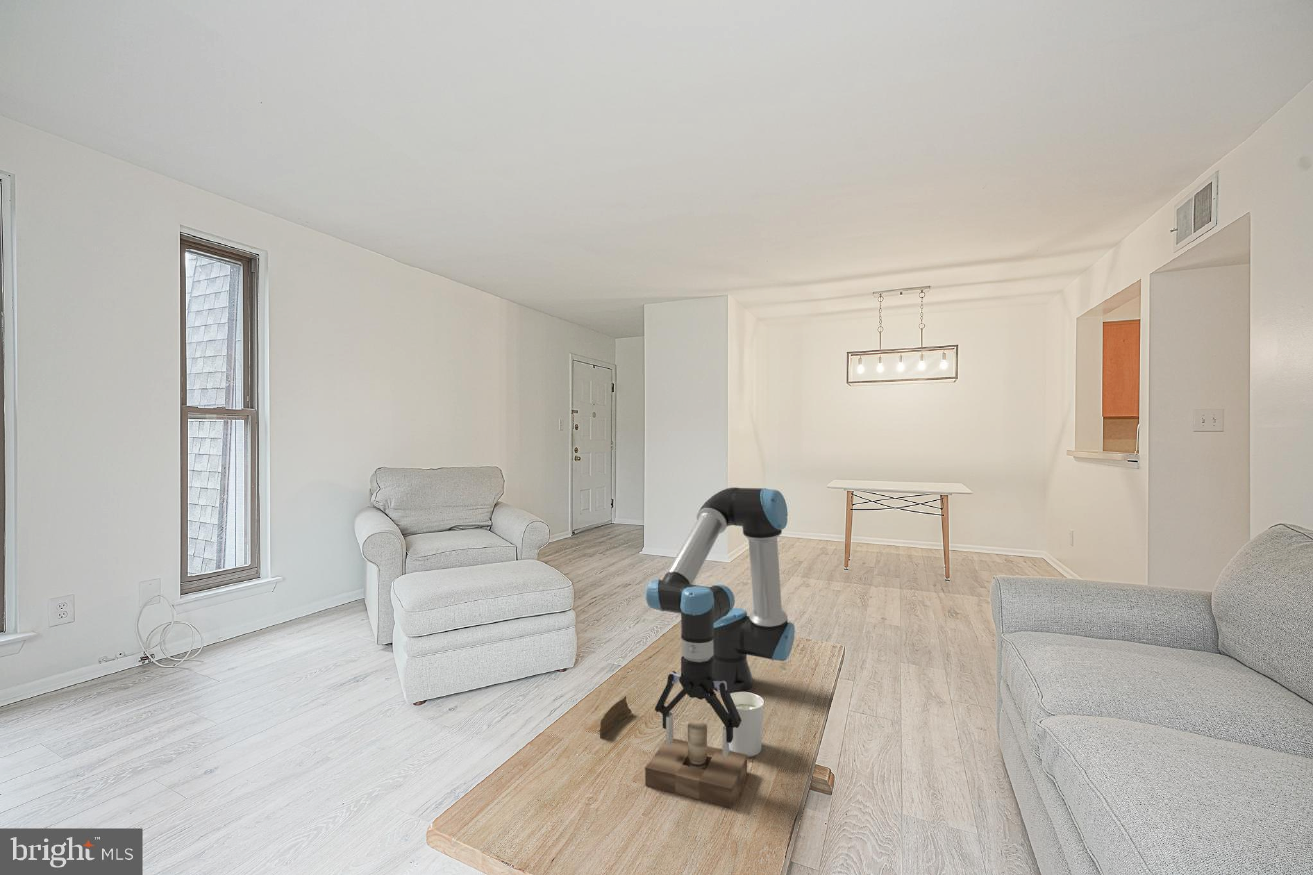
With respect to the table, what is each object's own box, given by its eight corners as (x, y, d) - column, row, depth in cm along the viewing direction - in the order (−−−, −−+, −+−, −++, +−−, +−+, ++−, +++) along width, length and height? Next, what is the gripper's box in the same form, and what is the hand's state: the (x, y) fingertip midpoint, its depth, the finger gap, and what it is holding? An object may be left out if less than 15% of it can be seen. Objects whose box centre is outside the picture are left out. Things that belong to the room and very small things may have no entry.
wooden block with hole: (668, 753, 137) (668, 737, 137) (747, 771, 129) (747, 754, 129) (645, 785, 124) (645, 767, 124) (731, 807, 116) (731, 788, 116)
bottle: (691, 771, 129) (691, 719, 130) (709, 775, 127) (709, 723, 128) (685, 781, 125) (685, 728, 125) (703, 786, 123) (703, 731, 124)
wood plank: (604, 739, 143) (604, 720, 143) (597, 737, 144) (597, 718, 144) (631, 713, 157) (631, 696, 157) (625, 712, 158) (625, 694, 158)
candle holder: (734, 761, 133) (734, 711, 134) (719, 740, 143) (719, 694, 143) (771, 755, 136) (771, 706, 136) (753, 735, 145) (753, 689, 146)
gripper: (641, 653, 128) (641, 745, 128) (746, 670, 119) (746, 769, 118) (653, 643, 135) (653, 730, 135) (754, 658, 125) (754, 752, 125)
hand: (697, 749), depth 126 cm, fingers open, 13 cm apart
